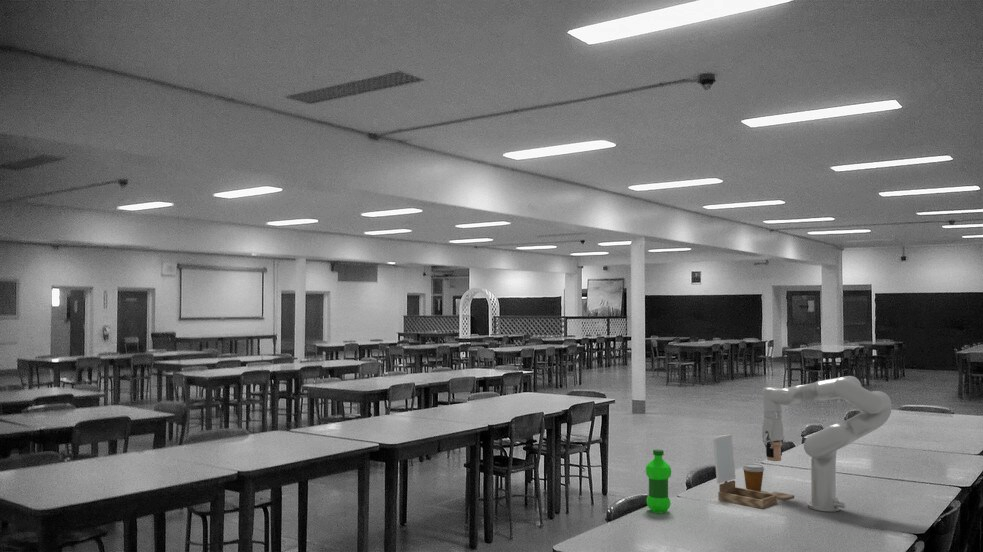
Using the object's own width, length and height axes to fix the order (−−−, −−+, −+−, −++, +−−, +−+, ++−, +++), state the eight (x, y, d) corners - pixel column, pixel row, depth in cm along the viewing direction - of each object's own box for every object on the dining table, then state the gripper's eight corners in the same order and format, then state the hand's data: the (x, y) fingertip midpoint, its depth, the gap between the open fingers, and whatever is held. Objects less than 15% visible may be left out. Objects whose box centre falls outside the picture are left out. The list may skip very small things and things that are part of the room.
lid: (731, 434, 337) (729, 434, 338) (714, 437, 327) (713, 437, 328) (735, 478, 335) (733, 478, 336) (718, 483, 325) (716, 483, 325)
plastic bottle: (669, 508, 312) (668, 448, 313) (672, 515, 302) (672, 453, 303) (644, 507, 313) (644, 447, 314) (647, 514, 303) (647, 452, 304)
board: (794, 498, 330) (794, 495, 330) (785, 502, 324) (785, 498, 324) (774, 494, 337) (774, 491, 337) (765, 498, 331) (765, 494, 331)
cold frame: (777, 504, 320) (776, 457, 321) (761, 510, 310) (761, 461, 311) (729, 494, 336) (729, 450, 337) (713, 500, 327) (713, 454, 328)
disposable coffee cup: (766, 494, 337) (765, 468, 338) (744, 493, 339) (743, 467, 340) (762, 489, 346) (762, 463, 347) (741, 488, 348) (741, 462, 349)
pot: (771, 457, 334) (771, 439, 335) (785, 460, 329) (784, 441, 329) (762, 459, 330) (762, 441, 331) (776, 461, 325) (776, 443, 325)
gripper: (775, 412, 339) (777, 453, 338) (754, 416, 328) (755, 457, 327) (791, 414, 333) (792, 455, 332) (769, 417, 322) (770, 459, 321)
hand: (774, 455), depth 329 cm, fingers closed on pot, 5 cm apart
